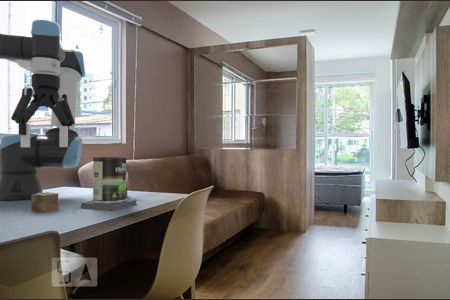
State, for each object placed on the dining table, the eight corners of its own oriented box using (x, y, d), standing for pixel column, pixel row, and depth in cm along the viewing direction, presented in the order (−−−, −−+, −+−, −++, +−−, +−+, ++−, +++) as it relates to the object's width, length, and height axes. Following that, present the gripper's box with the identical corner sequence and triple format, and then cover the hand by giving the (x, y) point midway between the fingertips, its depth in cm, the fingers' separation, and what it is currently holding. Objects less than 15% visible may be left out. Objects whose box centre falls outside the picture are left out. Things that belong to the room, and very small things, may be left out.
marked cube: (31, 211, 102) (31, 193, 102) (45, 208, 107) (45, 191, 107) (44, 213, 101) (44, 194, 101) (58, 210, 105) (58, 192, 105)
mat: (81, 207, 109) (81, 202, 109) (106, 201, 121) (106, 197, 120) (112, 210, 105) (112, 205, 105) (136, 204, 116) (136, 199, 116)
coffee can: (131, 199, 117) (132, 157, 117) (116, 204, 107) (116, 158, 107) (103, 198, 119) (103, 156, 119) (85, 203, 109) (86, 157, 109)
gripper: (16, 65, 90) (16, 147, 91) (86, 81, 114) (86, 147, 114) (-4, 67, 93) (-4, 147, 93) (68, 82, 116) (68, 146, 117)
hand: (45, 147), depth 104 cm, fingers open, 13 cm apart
